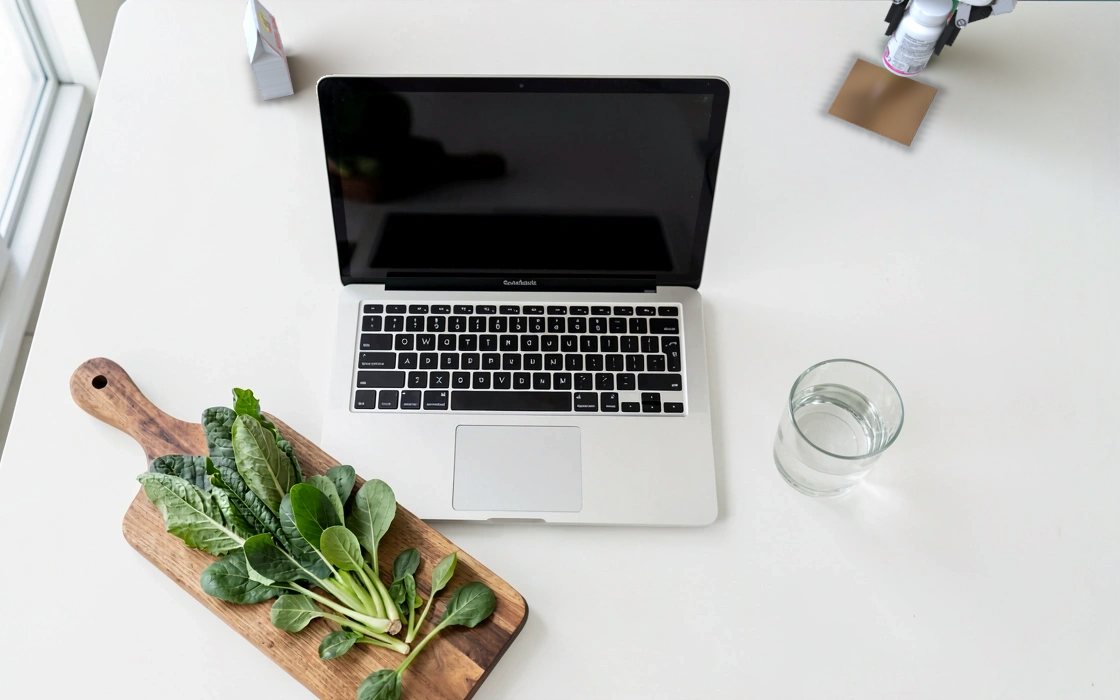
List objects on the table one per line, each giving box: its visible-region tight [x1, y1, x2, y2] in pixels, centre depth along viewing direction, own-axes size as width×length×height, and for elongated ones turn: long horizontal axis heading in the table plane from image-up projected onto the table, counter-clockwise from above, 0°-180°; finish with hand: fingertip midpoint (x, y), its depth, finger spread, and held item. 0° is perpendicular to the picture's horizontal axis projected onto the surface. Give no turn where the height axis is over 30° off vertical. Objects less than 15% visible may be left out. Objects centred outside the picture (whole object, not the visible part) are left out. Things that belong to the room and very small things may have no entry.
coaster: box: [826, 58, 938, 147], centre depth 107 cm, size 10×10×1 cm
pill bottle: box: [882, 0, 953, 78], centre depth 98 cm, size 5×5×8 cm
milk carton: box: [242, 0, 295, 101], centre depth 105 cm, size 4×7×10 cm, turn 15°
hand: (916, 35), depth 98 cm, fingers closed on pill bottle, 4 cm apart
